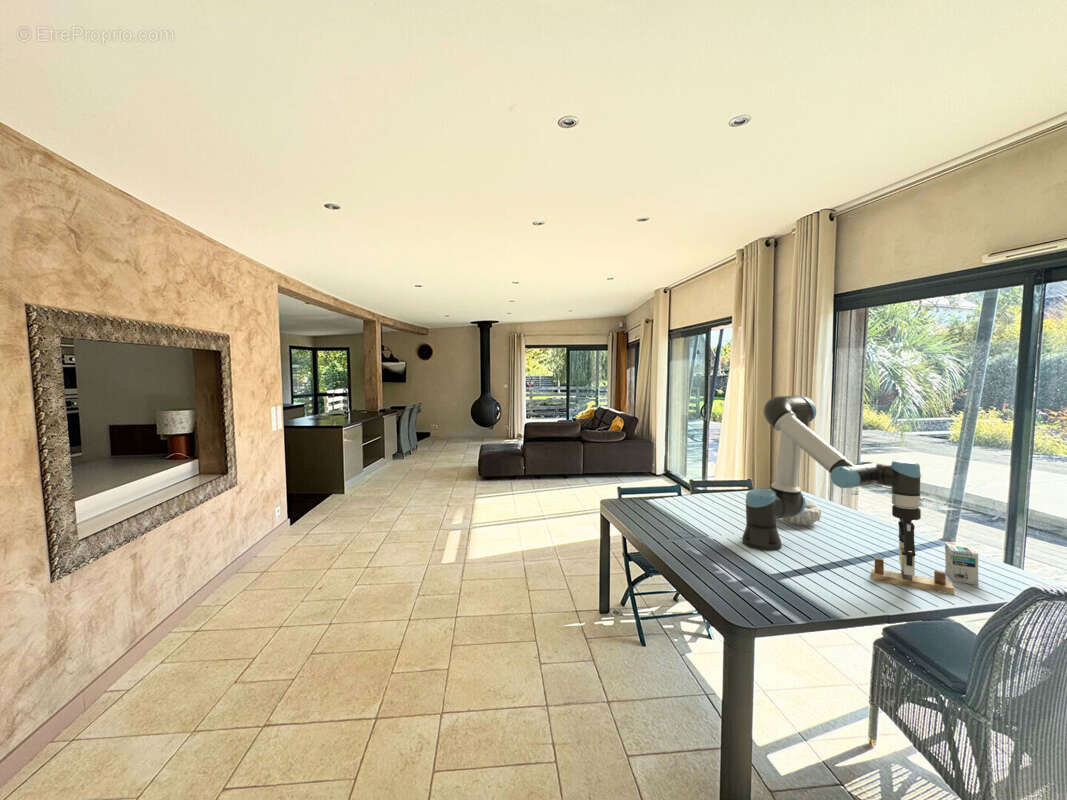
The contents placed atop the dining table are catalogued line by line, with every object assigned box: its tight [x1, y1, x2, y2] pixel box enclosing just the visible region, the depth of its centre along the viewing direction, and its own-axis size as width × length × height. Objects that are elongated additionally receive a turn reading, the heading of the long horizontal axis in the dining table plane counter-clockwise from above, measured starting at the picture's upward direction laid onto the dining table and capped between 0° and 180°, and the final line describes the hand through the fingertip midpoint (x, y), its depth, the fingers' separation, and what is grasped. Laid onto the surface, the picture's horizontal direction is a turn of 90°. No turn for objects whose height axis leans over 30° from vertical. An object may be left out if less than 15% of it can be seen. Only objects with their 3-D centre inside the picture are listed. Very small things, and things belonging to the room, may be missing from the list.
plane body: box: [871, 556, 955, 595], centre depth 152 cm, size 21×6×7 cm, turn 55°
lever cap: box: [899, 547, 911, 571], centre depth 152 cm, size 3×7×7 cm, turn 145°
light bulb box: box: [944, 541, 979, 586], centre depth 155 cm, size 11×7×11 cm, turn 148°
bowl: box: [781, 501, 822, 526], centre depth 220 cm, size 21×20×10 cm
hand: (906, 567), depth 152 cm, fingers open, 13 cm apart
